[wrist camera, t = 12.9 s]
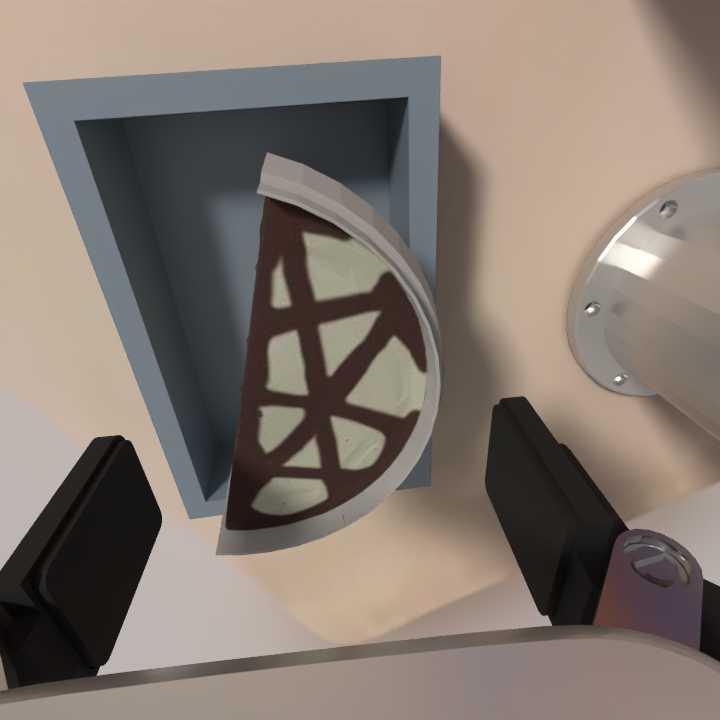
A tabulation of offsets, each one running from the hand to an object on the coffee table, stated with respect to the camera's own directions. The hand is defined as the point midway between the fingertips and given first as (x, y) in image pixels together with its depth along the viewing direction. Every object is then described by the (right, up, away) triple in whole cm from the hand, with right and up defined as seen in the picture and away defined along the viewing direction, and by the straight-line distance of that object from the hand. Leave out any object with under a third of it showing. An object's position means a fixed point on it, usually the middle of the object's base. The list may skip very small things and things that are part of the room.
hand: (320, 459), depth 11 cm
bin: (-2, +6, +10) cm, 12 cm away
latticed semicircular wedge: (-1, +6, +9) cm, 11 cm away
